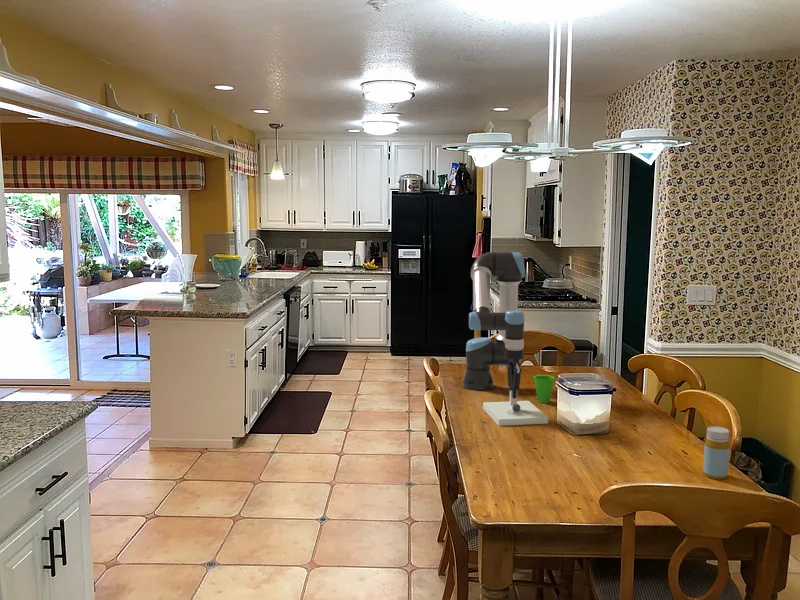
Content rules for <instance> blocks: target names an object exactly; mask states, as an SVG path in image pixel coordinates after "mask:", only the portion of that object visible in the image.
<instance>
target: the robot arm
mask: <svg viewBox="0 0 800 600" xmlns="http://www.w3.org/2000/svg"><path fill="white" fill-rule="evenodd" d="M525 277H526V269H525V262H524V256H523V254H522V253H521V252H518V251H517V252H516V251H498V252H497V251H496V252H494V251H492V252H491V251H489V252H484V253H483V254H481V255H480V256H479V257H477V258H476V259H475V261H474V262H473V264H472V266H471V268H470V278H471V280H472V301H473V302H472V304H473V305H472V307H473V308H472V309H473V311H471V312H469V313H468V328H469V329H470V330H471V331H472V330H473V331H498V334H497V335H496V336H495V339H494V340H492V339H491V337H482V336H481V337H476V338H475V337H474V338H472V339H471V338H470V339H469V340H467V342H466V345H465V347H466V348H465V352H466V353H465V355H466V356H465V357H466V358H465V359H466V361H465V373H464V376H463V378H462V384H461V386H462V388H464V389H467V390H471V391H472V390H473V391H474V390H475V391H486V390H491V389H494V387H495V382H494V377H493V375H492V372H491V366H503V367H504V366H506V370H507V387H508V388H509V401H510V406H513V405H514V404H517V401H518V391H520V383H521V376H522V368H521V362H522V360H523V359H524V351H525V350H524V348H525V346H524V345H525V338H524V337H525V335H524V334H525V333H524V332H525V312H524V311H522V310H519V309H518V306H519V305H518V304H519V303H518V301H519V285H520V283H521V282H522V280H523V278H525ZM492 278H495V279H496V282H497V284H499V299H498V303H499V306H498V312H492V310H491V309H492V307H491V305H492V303H491V284H490V281H491V279H492Z"/></svg>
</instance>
